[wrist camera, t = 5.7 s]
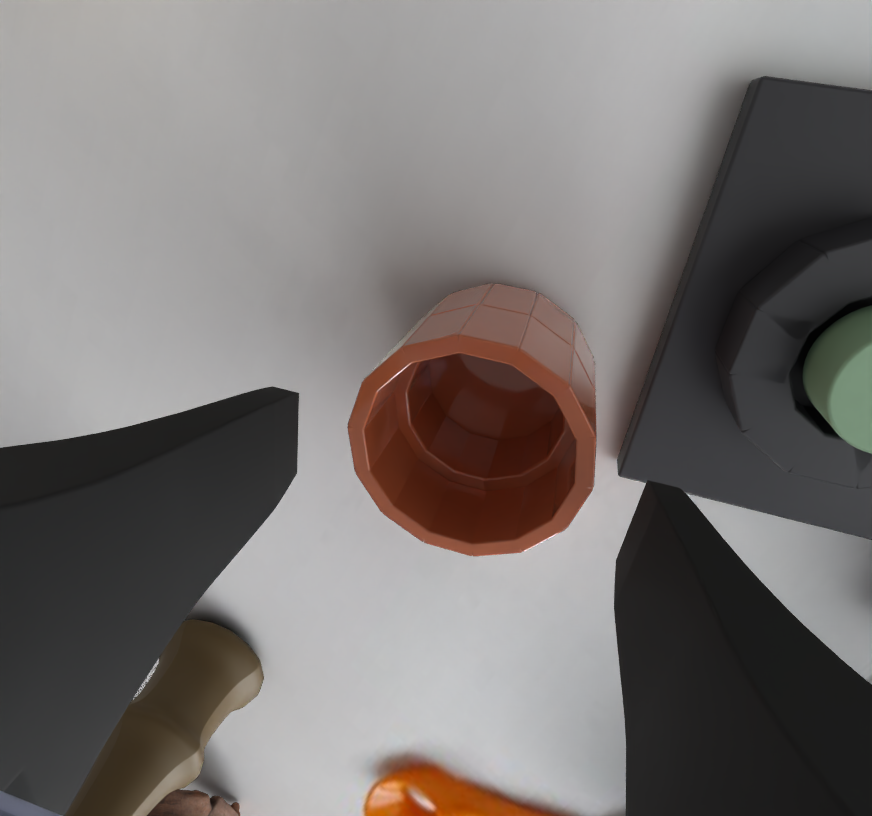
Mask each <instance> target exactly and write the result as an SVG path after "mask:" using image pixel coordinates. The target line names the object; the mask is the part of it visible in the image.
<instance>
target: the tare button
mask: <svg viewBox="0 0 872 816" xmlns="http://www.w3.org/2000/svg"><path fill="white" fill-rule="evenodd" d="M802 377H803V385H804V389H805V392H806V394H807V397H808V398H809V400H810V401H811V403H812V404H813V405H814V406H815V408H816V409H817V410H818V411H819V412H820V414H821V415H822V416H823V417H824V418H825V420H826V421H827V422H828V423H829V424H830V426H831V427H832V428H833V429H834V430H835V432H836V433H837V434H838V435H839V436H840V437H841V438H842V439H843V440H845V441H846V442H847V443H848V444H850V445H852V446H854V447H855V448H857V449H860V450H862V451H865V452H868V453H871V454H872V305H871V306H868V307H864V308H861V309H859V310H856V311H854V312H851V313H849V314H847V315H846V316H844V317H842V318H840V319H839V320H837V321H836V322H834V323H833V324H832V325H830V326H829V327H828V328H827V329H826V330H825V331H824V332H823V333H822V334H821V335H820V336H819V337H818V338H817V339H816V341H815V342H814V343H813V345H812V347H811V348H810V350H809V352H808V354H807V357H806V359H805V362H804V366H803V374H802Z"/></svg>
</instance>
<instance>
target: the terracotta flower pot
mask: <svg viewBox="0 0 872 816" xmlns="http://www.w3.org/2000/svg"><path fill="white" fill-rule="evenodd" d="M348 433H349V439H350V445H351V451H352V457H353V463H354V469H355V472H356V475H357V476H358V478H359V479H360V481H361V482H362V484H363V485H364V487H365V488H366V490H367V491H368V493H369V494H370V496H371V497H372V499H373V500H374V502H375V503H376V505H377V506H378V508H379V509H380V511H381V512H383V514H384V515H385V516H387V517H388V518H389V519H391V520H392V521H394V522H395V523H397V524H398V525H399V526H401V527H402V528H404V529H405V530H406V531H408V532H409V533H411V534H412V535H413V536H415V537H416V538H418V539H419V540H420V541H422V542H423V541H424V543H427V544H430V545H434V546H437V547H441V548H444V549H448V550H451V551H455V552H458V553H462V554H465V555H469V556H472V555H473V556H485V555H498V554H511V553H521V552H522V551H523V552H525V551H527V550H529V549H530V548H532V547H534V546H536V545H538V544H540V543H542V542H544V541H545V540H547V539H549V538H551V537H553V536H555V535H557V534H559V533H560V532H562V531H564V530H565V529H566V528H568V526H569V525H570V523H571V522H572V520H573V519H574V517H575V516H576V514H577V513H578V511H579V510H580V508H581V507H582V505H583V504H584V502H585V501H586V499H587V498H588V496H589V495H590V493H591V492H592V490H593V487H594V477H595V457H596V395H595V362H594V357H593V355H592V353H591V351H590V349H589V347H588V345H587V342H586V340H585V338H584V336H583V334H582V332H581V330H580V328H579V326H578V324H577V323H576V322H574V318H572V317H571V316H570V315H568V314H567V313H566V312H564V311H563V310H562V309H561V308H559V307H558V306H557V305H555V304H554V303H553V302H551V301H550V300H549V299H547V298H546V297H545V296H543V295H542V294H541V293H538V294H537V292H536V291H532V290H527V289H522V288H517V287H512V286H507V285H502V284H497V283H495V284H492V283H489V284H485V285H481V286H477V287H473V288H469V289H465V290H461V291H457V292H453V293H451V294H450V295H448V296H446V297H445V298H444V299H443V300H442V301H441V302H439V303H438V304H437V305H436V306H435V307H434V308H433V309H431V310H430V311H429V312H428V313H427V314H426V315H425V316H424V317H422V318H421V319H420V320H419V321H418V322H417V323H416V324H415V326H414V327H413V328H412V329H411V330H410V331H409V332H408V333H407V334H406V335H405V336H404V337H403V338H402V339H401V340H400V342H399V343H398V344H397V345H396V346H395V347H394V348H393V349H392V350H391V351H390V352H389V353H388V354H387V355H386V356H385V357H384V358H383V359H382V360H381V361H380V363H379V364H378V365H377V366H376V367H375V368H374V369H373V370H372V371H371V372H370V373H369V374H368V375H367V376H366V377H365V378H364V381H363V382H362V384H361V387H360V390H359V393H358V395H357V398H356V401H355V404H354V407H353V410H352V413H351V416H350V419H349V422H348Z"/></svg>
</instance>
